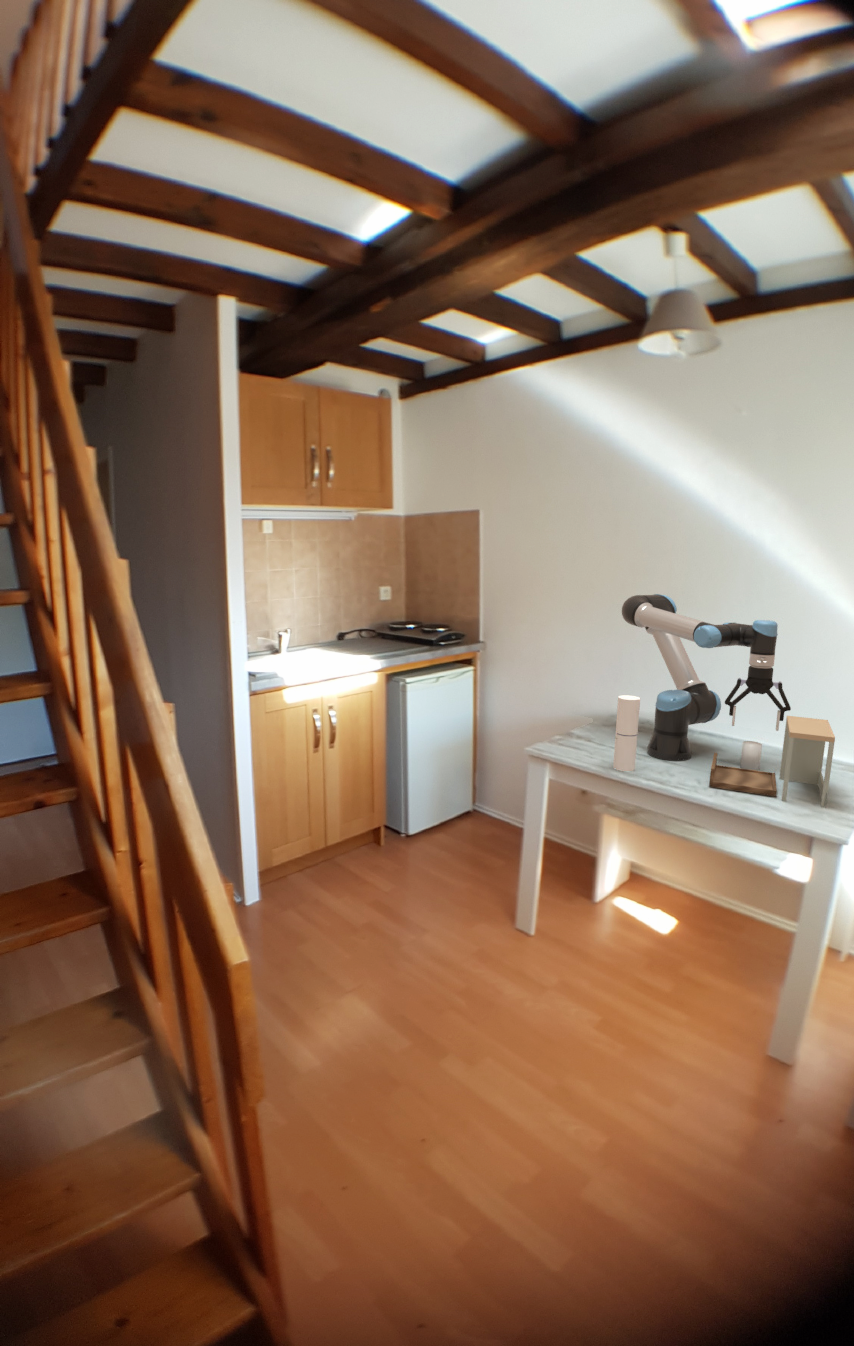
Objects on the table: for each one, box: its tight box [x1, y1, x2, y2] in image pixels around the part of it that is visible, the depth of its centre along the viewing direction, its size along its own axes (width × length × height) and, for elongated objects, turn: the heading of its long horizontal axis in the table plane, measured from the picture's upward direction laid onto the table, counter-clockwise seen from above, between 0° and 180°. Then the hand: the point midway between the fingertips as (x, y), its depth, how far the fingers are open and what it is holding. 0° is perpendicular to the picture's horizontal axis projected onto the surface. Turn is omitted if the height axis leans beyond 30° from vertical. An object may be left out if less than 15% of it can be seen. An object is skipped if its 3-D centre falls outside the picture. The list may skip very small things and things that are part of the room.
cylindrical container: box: [612, 694, 641, 772], centre depth 229 cm, size 7×7×25 cm
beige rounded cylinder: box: [739, 740, 763, 771], centre depth 233 cm, size 6×6×9 cm
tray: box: [708, 752, 778, 797], centre depth 218 cm, size 19×19×6 cm
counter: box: [778, 715, 836, 809], centre depth 210 cm, size 12×22×22 cm, turn 154°
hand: (754, 727), depth 231 cm, fingers open, 13 cm apart
